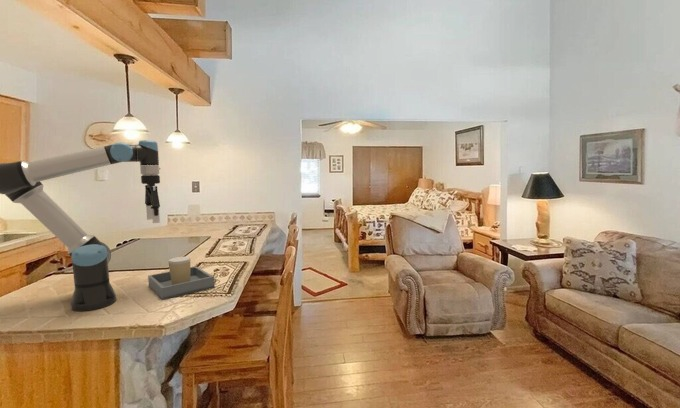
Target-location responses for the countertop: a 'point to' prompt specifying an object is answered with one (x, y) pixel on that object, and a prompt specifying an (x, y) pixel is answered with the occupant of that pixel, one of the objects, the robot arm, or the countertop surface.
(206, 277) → the walled box
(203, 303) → the countertop surface
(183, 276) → the coffee cup
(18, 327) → the countertop surface
